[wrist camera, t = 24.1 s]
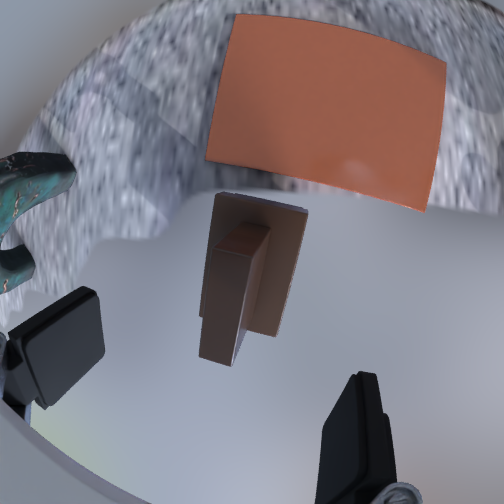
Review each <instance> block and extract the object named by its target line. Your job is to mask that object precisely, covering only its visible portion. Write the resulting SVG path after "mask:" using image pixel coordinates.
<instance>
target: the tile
mask: <svg viewBox="0 0 504 504" xmlns="http://www.w3.org/2000/svg"><path fill="white" fill-rule="evenodd" d="M445 87H446V62H444V61H442V60H440V59H437V58H435V57H433V56H431V55H428V54H426V53H423V52H421V51H418V50H416V49H413V48H411V47H408V46H405V45H403V44H400V43H397V42H394V41H391V40H388V39H385V38H382V37H379V36H375V35H372V34H368V33H365V32H361V31H357V30H353V29H349V28H345V27H340V26H336V25H331V24H326V23H321V22H315V21H309V20H302V19H295V18H287V17H278V16H266V15H250V14H236V17H235V20H234V24H233V28H232V32H231V36H230V40H229V44H228V48H227V52H226V56H225V61H224V65H223V69H222V74H221V78H220V83H219V88H218V92H217V97H216V102H215V107H214V112H213V117H212V123H211V128H210V133H209V139H208V144H207V150H206V156H205V161H211V162H217V163H223V164H229V165H235V166H241V167H246V168H252V169H257V170H262V171H267V172H272V173H277V174H282V175H287V176H291V177H296V178H300V179H305V180H309V181H313V182H317V183H322V184H326V185H330V186H334V187H338V188H342V189H345V190H349V191H353V192H357V193H360V194H364V195H368V196H371V197H375V198H378V199H381V200H385V201H388V202H392V203H395V204H398V205H402V206H404V207H408V208H411V209H414V210H417V211H420V212H423V213H425V210H426V206H427V202H428V198H429V193H430V189H431V185H432V180H433V175H434V170H435V165H436V160H437V154H438V148H439V142H440V135H441V128H442V120H443V111H444V100H445Z"/></svg>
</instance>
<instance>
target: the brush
mask: <svg viewBox="0 0 504 504" xmlns="http://www.w3.org/2000/svg"><path fill="white" fill-rule="evenodd" d="M307 218H308V210H307V209H303V208H302V207H297V206H293V205H288V204H284V203H280V202H275V201H270V200H266V199H261V198H256V197H252V196H247V195H242V194H237V193H235V194H233V193H228V192H221V193H217V194H216V195H215V199H214V206H213V212H212V219H211V226H210V233H209V240H208V247H207V254H206V262H205V269H204V277H203V286H202V294H201V303H200V311H199V316H200V317H203V321H202V329H201V338H200V348H199V357H200V358H204V359H207V360H210V361H213V362H216V363H220V364H223V365H226V366H230V367H231V366H232V365H233V363H234V360H235V358H236V356H237V353H238V351H239V348H240V346H241V343H242V341H243V338H244V336H245V333H246V331H247V330H249V331H252V332H256V333H260V334H264V335H268V336H272V337H277V335H278V331H279V327H280V324H281V320H282V316H283V313H284V309H285V306H286V302H287V298H288V294H289V291H290V287H291V283H292V279H293V275H294V271H295V268H296V263H297V260H298V255H299V251H300V247H301V243H302V239H303V235H304V231H305V227H306V222H307Z"/></svg>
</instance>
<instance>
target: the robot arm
mask: <svg viewBox="0 0 504 504" xmlns="http://www.w3.org/2000/svg"><path fill="white" fill-rule="evenodd" d="M8 335H9V338H10V340H8V341H7V339H6V336H5V335H4V334H3V333H1V332H0V504H151V503H148V502H146V501H144V500H142V499H140V498H138V497H136V496H134V495H132V494H130V493H128V492H126V491H124V490H122V489H120V488H118V487H117V486H114V485H113V484H111V483H109V482H108V481H106V480H104V479H103V478H101V477H99V476H98V475H96V474H94V473H93V472H91V471H89V470H88V469H86V468H85V467H83V466H82V465H80V464H79V463H77V462H76V461H74V460H73V459H72V458H70V457H69V456H67V455H66V454H65V453H63V452H62V451H60V450H59V449H58V448H57V447H55V446H54V445H53V444H51V443H50V442H49V441H47V440H46V439H45V438H44V437H42V436H41V435H40V434H39V433H38V432H37V431H35V430H34V429H33V428H32V427H30V417H31V402H32V401H33V400H35V402H36V403H37V404H38V405H39V406H41V407H42V408H43V409H44V410H46V409H47V408H48V407H49V406H52V405H54V404H55V403H56V402H57V401H58V400H59V399H60V398H61V397H62V396H63V395H64V394H65V393H66V392H67V391H68V390H69V389H70V388H71V387H72V386H73V385H74V384H75V383H76V382H78V381H79V380H80V379H81V378H82V377H83V376H84V375H85V374H86V373H87V372H88V371H89V370H90V369H91V368H92V367H93V366H94V365H95V364H96V363H97V362H98V361H99V360H100V359H101V358H102V357H103V356H104V354H105V345H104V339H103V330H102V322H101V313H100V302H99V297H98V296H97V293H96V292H95V291H94V290H92V289H90V288H87V287H85V286H81V287H79V288H77V289H76V290H74V291H72V292H71V293H69V294H68V295H66V296H64V297H63V298H61V299H59V300H58V301H56V302H54V303H53V304H51V305H50V306H48V307H46V308H45V309H43V310H42V311H40V312H39V313H37V314H35V315H34V316H32V317H31V318H29V319H28V320H26V321H25V322H23V323H21V324H20V325H18V326H17V327H15V328H14V329H12V330H11V331H9V332H8ZM422 503H423V501H422V496H421V494H420V492H419V490H418V489H416V488H415V487H414V486H413V485H411V484H409V483H404V482H397V476H396V465H395V456H394V448H393V441H392V434H391V427H390V421H389V417H388V415H387V414H386V413H383V409H382V403H381V397H380V391H379V385H378V381H377V376H376V374H375V373H368V372H363V371H359V372H358V373H357V375H355V374H353V375H352V376H351V377H350V379H349V381H348V383H347V384H346V386H345V388H344V390H343V392H342V394H341V395H340V397H339V399H338V401H337V403H336V404H335V406H334V408H333V410H332V411H331V413H330V415H329V416H328V418H327V420H326V421H325V423H324V426H323V429H322V440H321V452H320V463H319V473H318V481H317V490H316V498H315V504H422Z"/></svg>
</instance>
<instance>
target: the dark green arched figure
mask: <svg viewBox="0 0 504 504" xmlns="http://www.w3.org/2000/svg"><path fill="white" fill-rule="evenodd" d="M75 175H76V170H75V168H74V166H73V165H72V164H71V163H70V162H69V161H68V159H67V157H66V155H64V154H55V153H46V152H17V153H14V154H12V155H10V156H7V157H5V158H2V159H0V247H1V243H2V240H3V238H4V236H5V234H6V232H7V231H8V229H9V227H10V226H11V224H12V223H13V222H14V221H15V220H16V219H17V218H18V217H19V216H20V215H21V214H23V213H24V212H26V211H27V210H29V209H30V208H32V207H34V206H35V205H37V204H40V203H42V202H44V201H46V200H47V199H50V198H52V197H54V196H57V195H59V194H61V193H63V192H65V191H68V189H69V188H70V187H71V185H72V183H73V181H74V178H75ZM34 270H35V263H34V260H33V258H32V256H31V255H30V253H29V252H28V250H27V249H26V247H25V245H24V244H23V245H19V246H17V247H15V248H13V249H9V250H0V294H3V293H6V292H9V291H11V290H12V289H14V288H15V287H17V286H18V285H20V284H22V283H24V282H25V281H27V280H29V279H31V278H32V275H33V273H34Z"/></svg>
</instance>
